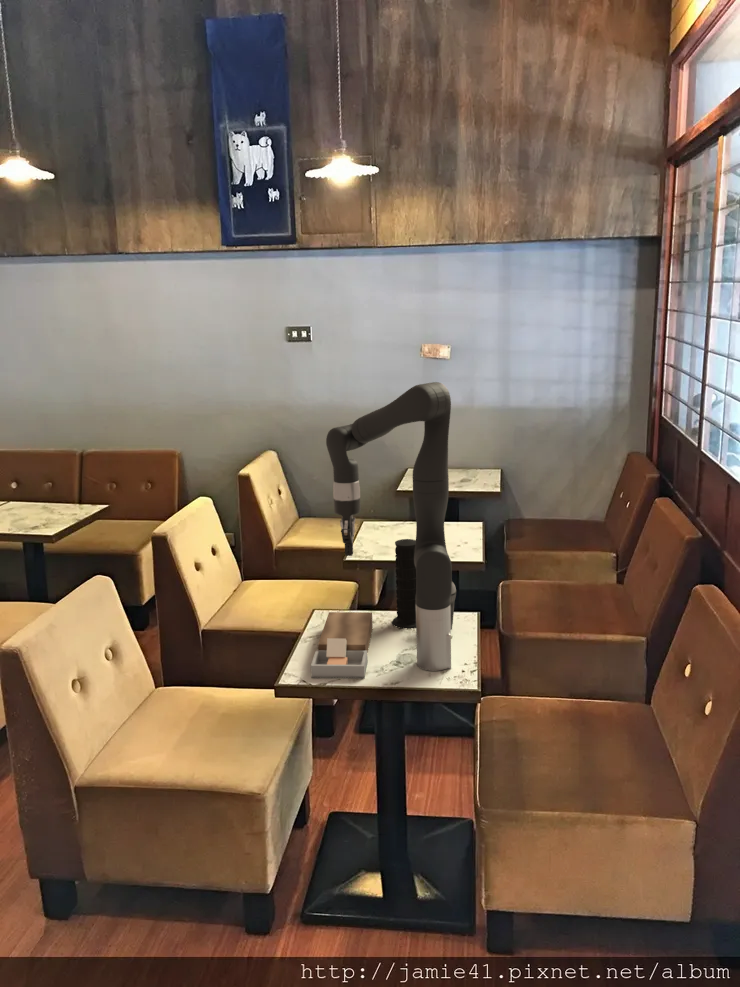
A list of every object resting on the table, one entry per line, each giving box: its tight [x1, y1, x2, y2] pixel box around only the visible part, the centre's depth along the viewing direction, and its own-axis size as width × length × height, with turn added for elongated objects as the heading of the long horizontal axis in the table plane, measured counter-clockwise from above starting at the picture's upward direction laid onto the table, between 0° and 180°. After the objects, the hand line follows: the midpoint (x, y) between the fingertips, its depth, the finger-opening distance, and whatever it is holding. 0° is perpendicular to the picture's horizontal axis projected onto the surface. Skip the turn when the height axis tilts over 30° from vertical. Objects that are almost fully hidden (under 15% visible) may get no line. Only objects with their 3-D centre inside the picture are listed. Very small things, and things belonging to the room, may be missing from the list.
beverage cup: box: [450, 581, 457, 631], centre depth 241 cm, size 7×7×20 cm
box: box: [310, 649, 368, 679], centre depth 218 cm, size 14×10×4 cm
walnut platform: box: [317, 611, 374, 653], centre depth 234 cm, size 13×23×5 cm, turn 175°
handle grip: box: [391, 538, 416, 630], centre depth 246 cm, size 10×26×10 cm
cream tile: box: [326, 638, 347, 659], centre depth 221 cm, size 5×5×2 cm
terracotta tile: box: [327, 657, 348, 665], centre depth 217 cm, size 5×5×2 cm
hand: (349, 554), depth 234 cm, fingers closed
